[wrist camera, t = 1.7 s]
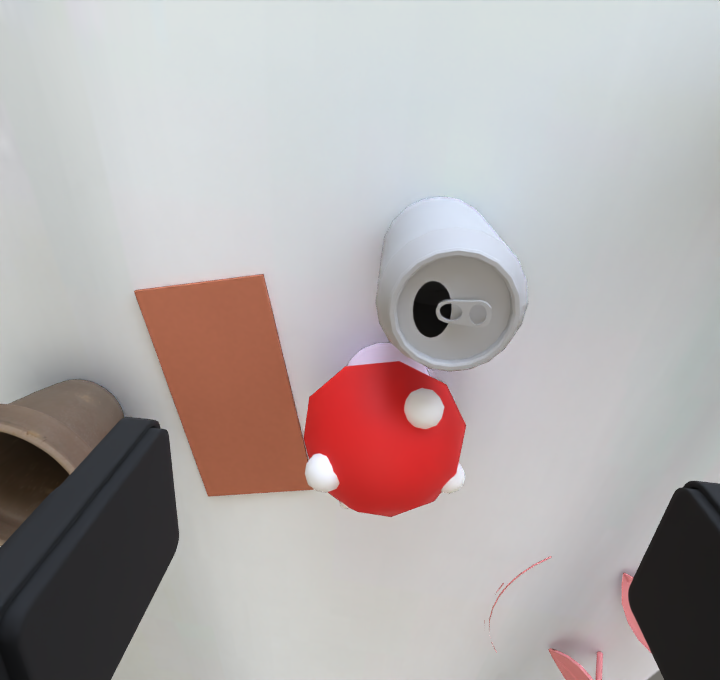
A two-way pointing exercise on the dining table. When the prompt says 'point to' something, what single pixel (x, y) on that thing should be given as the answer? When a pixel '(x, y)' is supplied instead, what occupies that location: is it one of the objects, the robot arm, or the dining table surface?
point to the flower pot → (48, 443)
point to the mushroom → (383, 435)
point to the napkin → (228, 383)
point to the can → (448, 286)
